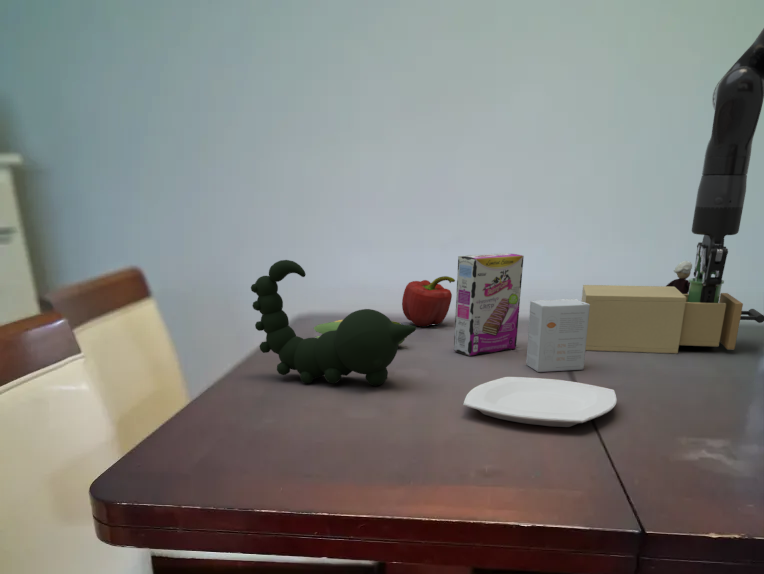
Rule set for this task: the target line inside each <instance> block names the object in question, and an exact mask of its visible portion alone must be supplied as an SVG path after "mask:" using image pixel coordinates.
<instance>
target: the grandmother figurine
mask: <svg viewBox="0 0 764 574" xmlns="http://www.w3.org/2000/svg"><path fill="white" fill-rule="evenodd" d="M692 269H693V263H692V262H691V261H688V260H683V261H681V262H680V263H678V264H677V265H676V267H675V268H674V270H673V272H674V274H676V276H677V278H676V279H673V280H671V281H670V282H668V283H667V284H666V285H665V286H670V287H675V288H677V289H678V290H679V291H680V292H681V293H682V294H688V293H689V287H690V282H689V279H688V278H689V277H690V275H691V271H692Z"/></svg>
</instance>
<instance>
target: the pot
mask: <svg viewBox="0 0 764 574" xmlns="http://www.w3.org/2000/svg"><path fill="white" fill-rule="evenodd" d="M702 280H703V278H695V277H693V278H689V279H688V281H689V282H690V287H689V292H688V299H687V302H697V303H699V302H700V296H701V290H702ZM723 284H725V279H722V282H721V284H720V285H718V287H716V292H715V298H714V303H719V300H720V294H721V291H722V285H723Z"/></svg>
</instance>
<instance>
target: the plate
mask: <svg viewBox="0 0 764 574" xmlns="http://www.w3.org/2000/svg"><path fill="white" fill-rule="evenodd" d="M617 401H618V398H617V395H616V391H615V390H614V389H613V388H607V387H603V386H598V385H594V384H590V383H589V384H588V383H582V382H578V381H577V382H576V381H570V380H563V379H554V378H543V377H542V378H539V377H525V376H524V377H523V376H504V377H501V378H496V379H493V380H490V381H486V382H484V383H481V384H478V385H477V386H475V387H473V388H472V389H471V390H469V392H468V393H467V394H466V396H465V398H464V400H463V406H464V407H467V408H470V409H473V410H478V411H479V412H480V413H481V414H483V415H484V416H488V417H492V418H495V419H499V420H504V421H509V422H514V423H520V424H527V425H532V426H533V425H534V426H543V427H553V428H555V427H556V428H571V427H573V426H576V425H579V424H583V423H587V422H588V421H591V420H594V419H596V418H599V417H601V416H603V415H606V414H607V413H609V412H610V411H612V410H613V409H614V408H615V406H616V404H617Z"/></svg>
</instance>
